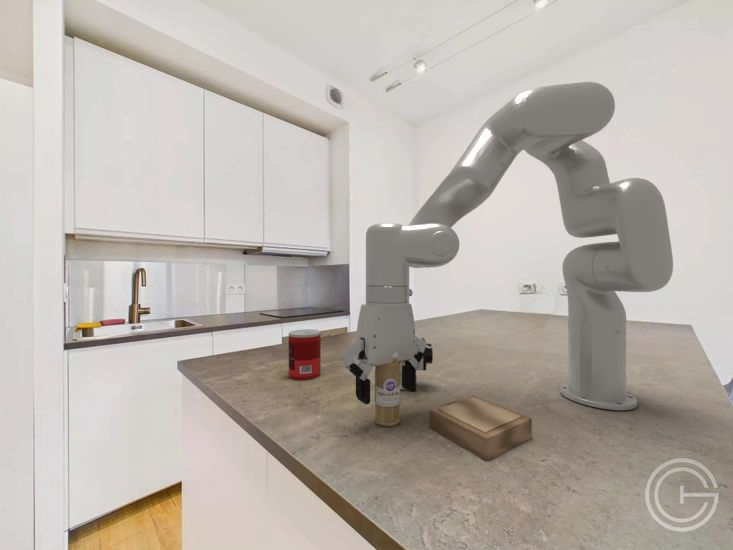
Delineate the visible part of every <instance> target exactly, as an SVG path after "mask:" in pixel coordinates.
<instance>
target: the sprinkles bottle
mask: <svg viewBox="0 0 733 550" xmlns="http://www.w3.org/2000/svg"><path fill="white" fill-rule="evenodd" d="M392 357H398V353H397V352H395V353H394V354H393V356H392ZM400 404H401V390H400V362H397V358H396V359H393V362H392V363H389V364H386V365H381V366H374V422H375V423H376V424H377V425H378V426H379V425H380V426H382V427H395V426H398V425H399V424H400V422H401V417H400V411H401V410H400V409H401V408H400V407H401V406H400Z"/></svg>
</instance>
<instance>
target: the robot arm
mask: <svg viewBox="0 0 733 550" xmlns="http://www.w3.org/2000/svg"><path fill="white" fill-rule="evenodd" d="M615 110H616V102H615V98H614V95H613V93H612V91H611V90H610V89H609V88H607V87H606V86H605V85H603V84H601V83H598V82H594V81H580V82H571V83H562V84H561V83H560V84H552V85H546V86H539V87H534V88H531V89H527V90H524V91H522V92H519V93H518V94H516V96H514V97H512V99H510V100H509V101H508V102H507V103H506V104H504V105H503V106H502V107H501V108H499V109H498V110H497V111H495V112H494V113H493V114H492V115H491V116H490V117H489V118H487V120H486V121H485V122H484V124H483V125H481V127H480V128H479V130H478V131H477V133H476V134H475V136H474V137H473V139H472V140H471V141H470V143H469V145H468V146H467V147H466V149H465V151H464V152H463V153H462V155H461V156H460V157H459V159H458V161H457V162H456V163H455V165H454V166H453V168H452V169H451V170H450V172H449V173H448V174H447V175H446V177H445V178H444V179H443V180H442V181H441V182H440V183H439V185H438V186H437V188H436V189H435V190H434V191H433V193H432V194H431V195H430V197H428V198H427V200H426V201H425V202H424V203H423V205H422V206H421V207H420V208H419V210H418V211H417V213H415V215H414V216H413V218H412V219H411V221H410V222H409V223H408V225H407V224H406V225H404V224H399V223H390V222H386V223H378V224H377V223H376V224H373V225H371V226H369V227H368V228H367V229H366V233H365V303H363V304H361V306H360V310H359V314H358V319H357V327H356V337H355V342H354V343H353V344H352V345H351V346H349V347H347V348H346V349H345V350H344V351H342V353H341V355H340V356H341V358H342V360H343V363H344V365H345V367H346V369H348V371H350V373H352V375H353V376H354V377H355V396H356V398H357V400H358V401H359V402H361V403H363V404H364V405H370V403H371V380H370V379H369V378H368V377H369V376H370V373H372V371H373V369H374V368H375V366H381V365H386V364H389V363H392V362H393V359H396V358H397V362H402V361H403V363H404V364H405V365H404V366H402V370H401V371H402V387H403V388H405V389H407V390H406V391H408V392H411V393H415V392H416V391H417V386H416V375H417V370H416V369H418V368H419V362H420V361H421V359H422V358H423V352H424V350H425V347H426V344H428V343H427V341H426V340H425V341H426V342H425V341H423V340H422V339H420V338H421V337H417V336H416V327H415V318H414V313H413V312H414V311H413V307H412V304H411V303H410V297H412V296H413V294H414V293H413V292H414V291H413V289H411V288H410V268H413V269H422V268H423V269H424V268H427V269H429V268H438V267H441V266H445V265H447V264H449V263H450V262H452V261H453V260H454V259H455V258H456V256H457V255H458V252H459V249H460V239H459V235H457V233H456V231H455V230H454V229H453V228H452V227H453V226H454V225H456V224H457V222H459V221H460V220H461V219H462V218H464V217H465V216H467V215H468V214H470V213H471V212H473V211H474V210H475V209H477V208H479V207H480V206H481V205H482V204H483V203H484V202H485V201H487V200H488V199H489V198H490V197H491V195H492V194H493V192H494V191H495V189H496V188H497V186H498V185H499V183H500V182H501V180H502V178H503V177H504V175H505V174H506V172H507V171H508V169H509V167H511V164H512V163H513V162H514V161H515V160H516V157H518V155H519V154H521V152H522V151H525V152H526V154H528V155H529V156H530V157H532V158H534V159H536V160H538V161H540V162H542V163H543V164H544V165H545V166H547V167H548V169H549V170H550V171H551V172H552V174H553V175H554V176H553V177H554V179H555V182H556V186H557V194H558V198H559V206H560V210H561V216H562V222H563V225H564V228H565V231H566V232H567V234H569V235H570V236H572V237H574V238H578V239H579V238H580V239H585V238H596V237H604V236H605V237H606V236H613V235H614V236H615V235H616V236H617V240H618V241H617V240H616V241H606V242H597V243H590V244H584V245H581V246H577V247H575V248H574V249H571V250H570V251H569V252H568V253H567V254H566V256H565V257H564V259H563V261H562V268H561V269H562V275H563V276H562V277H563V280H564V284H565V289H566V294H567V308H568V309H567V311H568V312H567V313H568V314H567V315H568V321H567V325H568V328H567V329H568V330H567V331H568V335H567V336H568V337H567V339H568V340H567V341H568V347H567V348H568V349H567V351H568V352H567V353H568V354H567V356H568V357H567V358H568V361H567V363H568V366H567V367H568V369H567V370H568V371H567V372H568V374H567V375H568V378H567V379H568V382H564V383H562V384H560V386H559V393H561V395H563V396H564V397H565V398H567V399H568V400H570V401H573V402H575V403H577V404H581V405H585V406H587V407H588V406H589V407H592V408H596V409H603V410H612V411H629V410H633V409H635V408H637V406H638V400H637V398H636V397H635V396H634V395H632V394H630V393H628V391H627V380H628V377H627V314H626V309H625V307H624V304H623V302H622V301H621V298H620V297H619V295H618V294H617V293H616V292H624V293H625V292H627V293H629V292H630V293H651V292H655V291H658V290H661V289H663V288H664V287H665V286H666V285H668V284H669V282H670V281H671V278H672V276H673V271H674V258H673V252H672V251H673V250H672V244H671V243H672V241H671V237H670V230H669V222H668V216H667V215H668V214H667V209H666V205H665V200H664V197H663V196H662V193H661V191H660V190H659V188H658V187H657V186H656V185H655V184H654V183H652V182H651V181H650V180H648V179H645V178H639V177H631V178H625V179H621V180H618V181H613V182H610V178H609V173H608V168H607V163H606V160H605V158H604V157H603V155H602V153H601V152H600V151H599V150H598V149H596V148H595V147H594V146H592V145H591V144H589V143H587V142H586V141H584V140H585V139H587V138H589V137H592V136H593V135H596V134H598V133H599V132H600V131H602V130H603V129H604V128H605V127H607V125H608V124H610V122H611V120H612V118H613V117H614V114H615ZM415 347H416V348H415ZM395 352H397V353H398V357H392V356H393V354H394V353H395ZM355 358H356V359H357V360H358V362H357V363H356V362H355Z"/></svg>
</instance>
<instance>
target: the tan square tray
mask: <svg viewBox="0 0 733 550" xmlns="http://www.w3.org/2000/svg"><path fill="white" fill-rule="evenodd" d="M532 421H533V420H532V418H531V417H529V416H526V415H523V414H521V413H518V412H516V411H513V410H511V409H508V408H506V407H503V406H500V405H498V404H496V403H493V402H491V401H488V400H487V399H486V400H485V399H483V398H481V397H478V396H475V395H469V396H466V397H463V398H460V399H457V400H455V401H451V402H447V403H445V404H441V405H439V406H436V407H432V408H429V409H428V428H429V429H431V430H433V431H434V432H436V433H438V434H439V435H442V436H443V437H445V438H446V439H448V440H450V441H451V442H453V443H455V444H457V445H459V446H460V447H462V448H464V449H466V450H467V451H468V452H470V453H472V454H473V455H476V456H477V457H479V458H481V459H482V460H484V461H486V462H487V461H490V460H492V459H493V458H495V457H497V456H500V455H502V454H503V453H505V452H507V451H509V450H511V449H513V448H515V447H517V446H519V445H521V444H523V443H525V442H527V441H529V440H531V439H532V438H533V434H532V433H533V432H532V431H533V429H532V428H533V427H532V426H533V425H532V423H533V422H532Z"/></svg>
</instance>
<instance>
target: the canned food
mask: <svg viewBox="0 0 733 550" xmlns="http://www.w3.org/2000/svg"><path fill="white" fill-rule="evenodd" d="M321 335H322V334H321V331H320V330H319V329H311V328H310V329H304V328H303V329H295V330H291V331H289V332H288V375H289V378H290V379H292V380H294V379H295V381H308V380H307V379H309V380H312V378H313V379H316V378H318V377H319V376H320V374H321V371H322V370H321V362H322V361H321V360H322V359H321V354H322V353H321V349H322V348H321V347H322V346H321V340H322V339H321ZM317 376H318V377H317ZM315 377H316V378H315Z"/></svg>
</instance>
